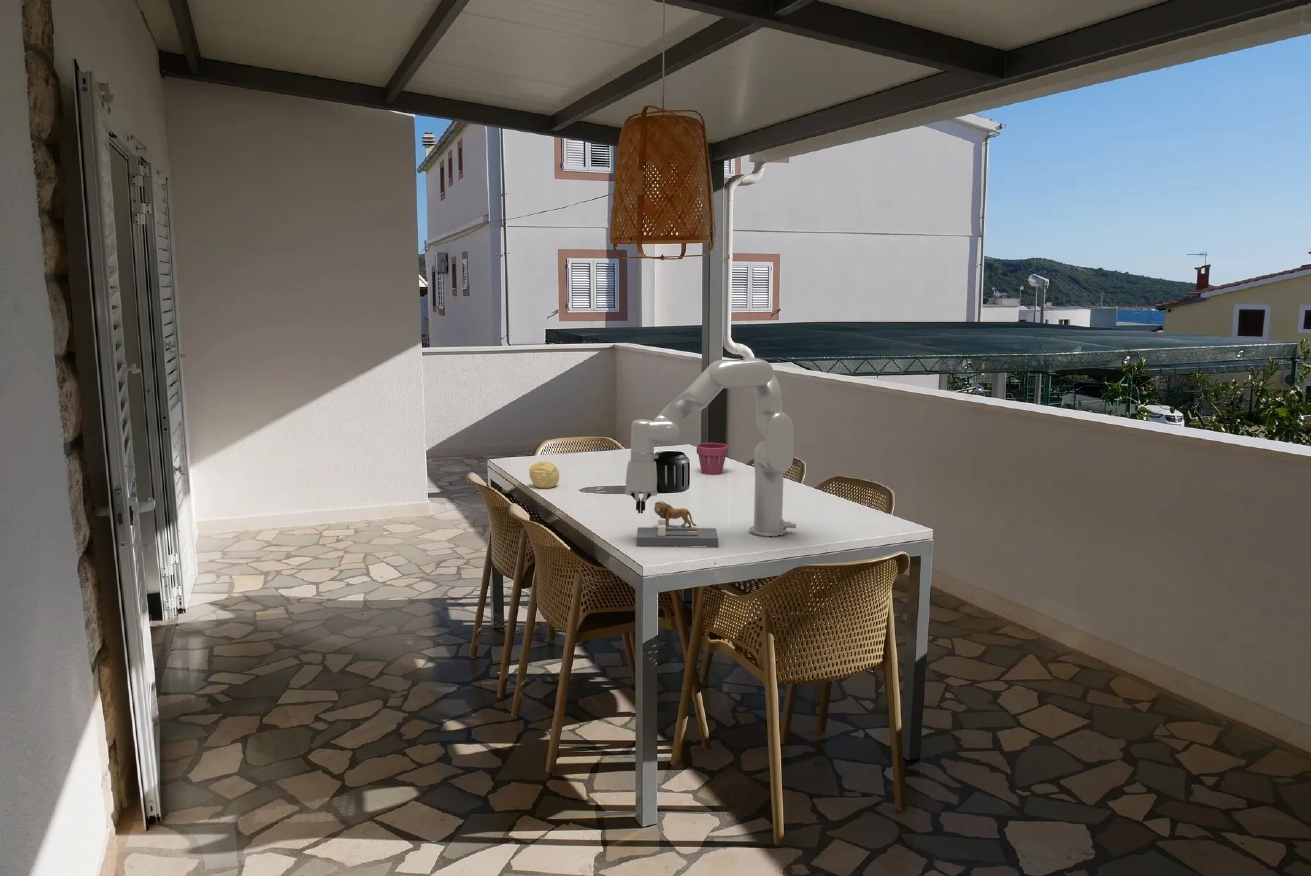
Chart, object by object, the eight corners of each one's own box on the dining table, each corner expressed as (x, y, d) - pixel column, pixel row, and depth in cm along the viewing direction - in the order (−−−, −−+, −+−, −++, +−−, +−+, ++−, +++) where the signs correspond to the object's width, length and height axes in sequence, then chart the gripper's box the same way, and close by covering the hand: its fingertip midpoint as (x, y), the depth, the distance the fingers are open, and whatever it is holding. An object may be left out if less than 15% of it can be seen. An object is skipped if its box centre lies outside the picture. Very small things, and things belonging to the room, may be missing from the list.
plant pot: (720, 477, 419) (720, 448, 417) (691, 474, 425) (691, 446, 423) (732, 471, 432) (732, 444, 430) (703, 469, 438) (704, 441, 436)
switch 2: (665, 536, 307) (665, 525, 307) (665, 538, 304) (665, 527, 304) (657, 536, 307) (657, 524, 307) (657, 538, 304) (657, 527, 304)
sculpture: (525, 488, 391) (525, 462, 389) (539, 483, 402) (539, 458, 400) (550, 490, 387) (550, 464, 385) (563, 485, 398) (563, 460, 397)
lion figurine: (653, 528, 327) (654, 502, 326) (654, 524, 332) (654, 499, 331) (696, 529, 327) (696, 503, 325) (696, 525, 332) (696, 500, 331)
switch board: (715, 537, 316) (715, 527, 315) (717, 547, 303) (718, 537, 303) (637, 536, 316) (637, 527, 316) (636, 546, 303) (636, 536, 303)
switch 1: (665, 530, 314) (665, 519, 314) (665, 533, 311) (665, 522, 311) (658, 530, 314) (658, 519, 314) (657, 533, 311) (658, 522, 311)
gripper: (665, 456, 313) (663, 510, 315) (619, 454, 313) (618, 509, 316) (665, 460, 305) (663, 516, 308) (618, 458, 305) (617, 514, 308)
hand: (640, 512), depth 312 cm, fingers closed
